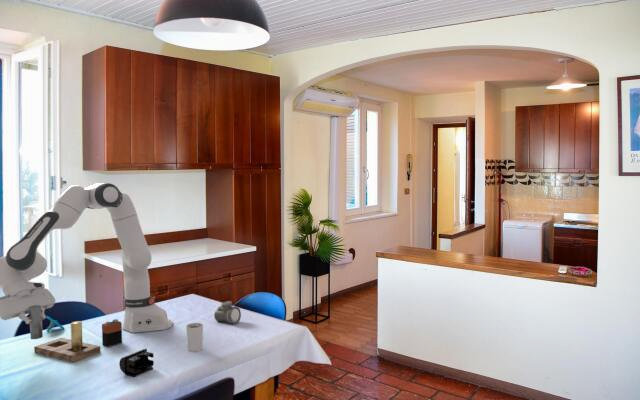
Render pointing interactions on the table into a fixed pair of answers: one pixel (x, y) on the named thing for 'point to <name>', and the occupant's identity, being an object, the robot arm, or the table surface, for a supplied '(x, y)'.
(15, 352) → the table surface
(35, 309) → the steel leg
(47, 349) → the hole plate
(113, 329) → the battery
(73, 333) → the brass leg
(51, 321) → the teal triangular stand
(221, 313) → the pipe fitting
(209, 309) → the table surface
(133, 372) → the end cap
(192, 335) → the grey cup
